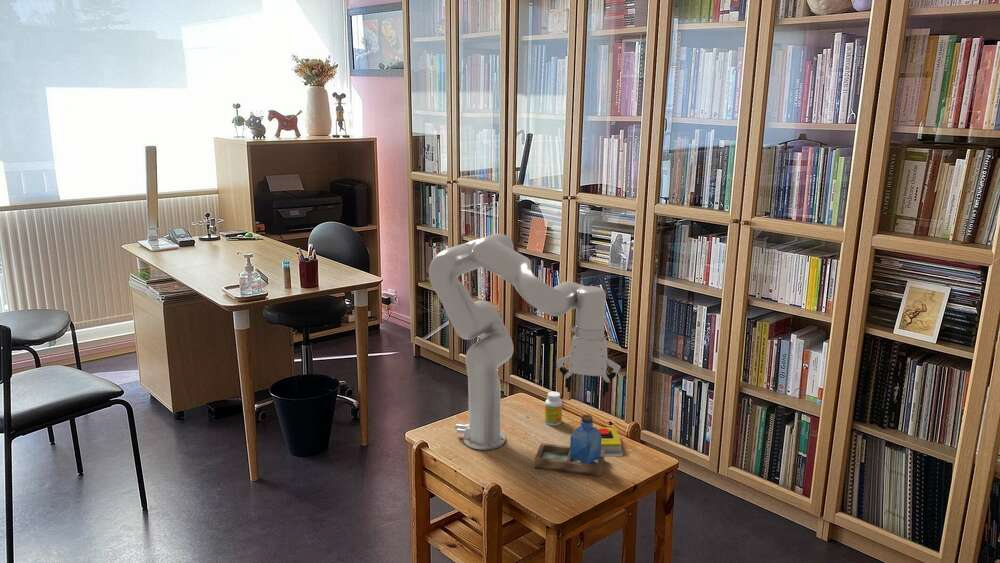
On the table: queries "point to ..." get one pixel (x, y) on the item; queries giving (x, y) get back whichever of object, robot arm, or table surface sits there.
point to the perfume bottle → (585, 441)
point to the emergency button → (610, 441)
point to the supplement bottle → (553, 409)
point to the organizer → (565, 461)
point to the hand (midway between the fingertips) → (586, 392)
